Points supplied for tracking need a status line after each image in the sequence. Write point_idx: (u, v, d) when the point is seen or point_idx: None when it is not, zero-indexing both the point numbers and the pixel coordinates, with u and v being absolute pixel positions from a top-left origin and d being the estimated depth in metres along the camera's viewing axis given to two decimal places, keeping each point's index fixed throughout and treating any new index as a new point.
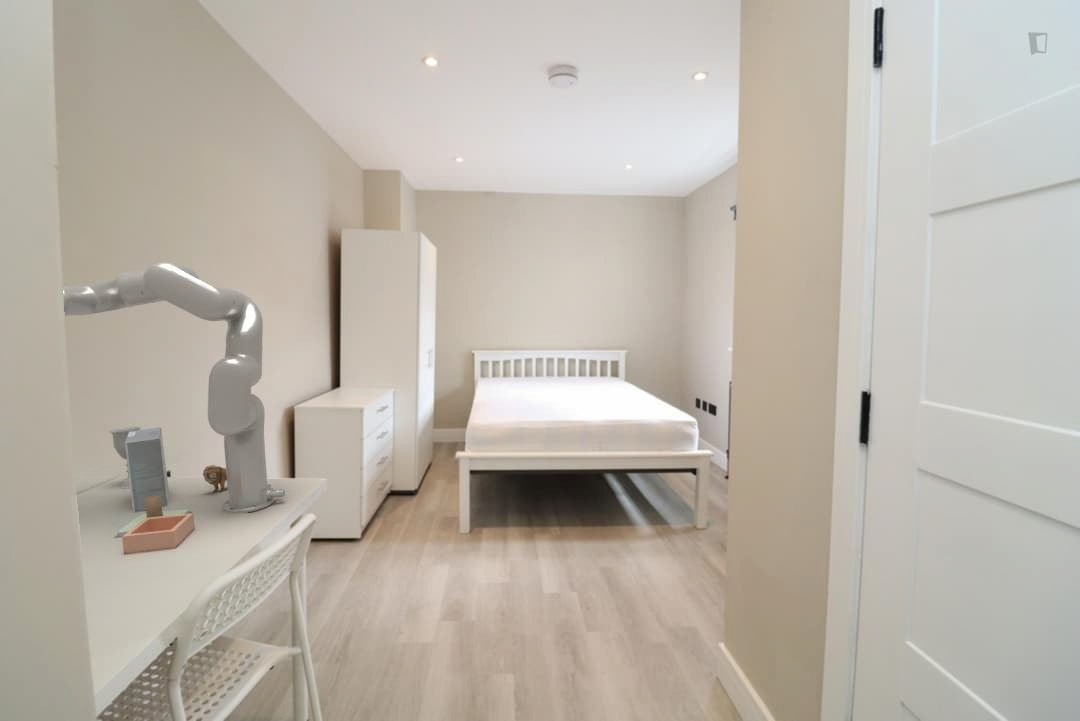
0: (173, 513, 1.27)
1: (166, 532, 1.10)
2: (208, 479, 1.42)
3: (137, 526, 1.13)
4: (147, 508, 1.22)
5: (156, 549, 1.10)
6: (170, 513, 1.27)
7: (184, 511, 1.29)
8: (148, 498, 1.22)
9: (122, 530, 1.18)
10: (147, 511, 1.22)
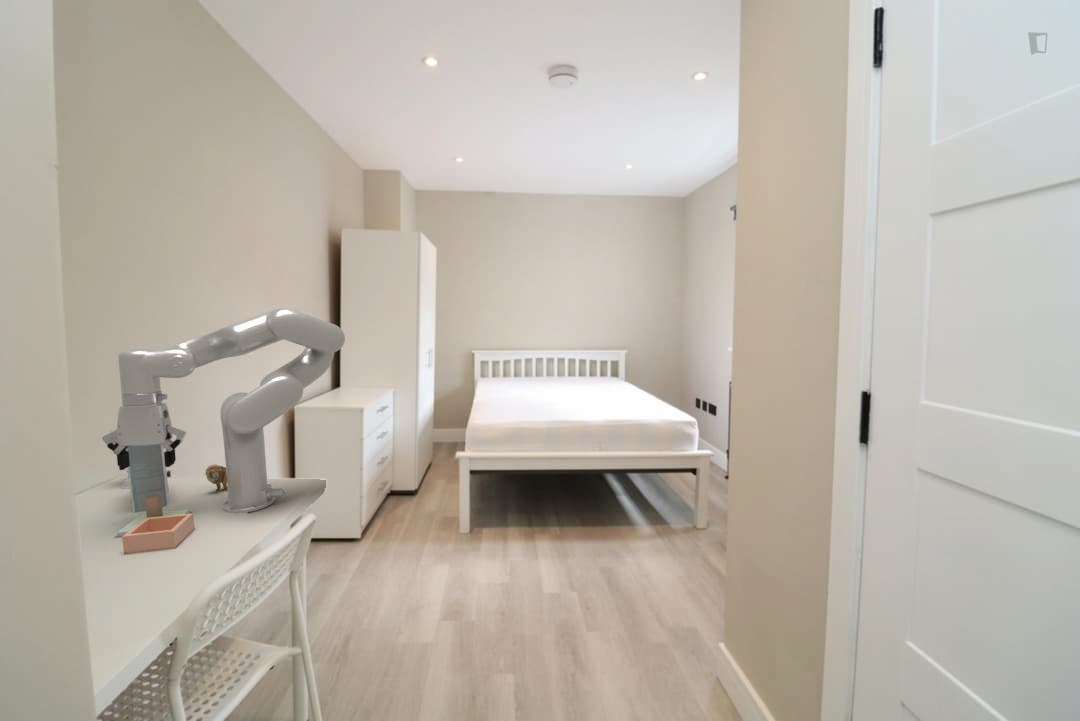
0: (173, 513, 1.27)
1: (166, 532, 1.10)
2: (211, 478, 1.42)
3: (137, 526, 1.13)
4: (147, 508, 1.22)
5: (156, 549, 1.10)
6: (170, 513, 1.27)
7: (184, 511, 1.29)
8: (148, 498, 1.22)
9: (122, 530, 1.18)
10: (147, 511, 1.22)
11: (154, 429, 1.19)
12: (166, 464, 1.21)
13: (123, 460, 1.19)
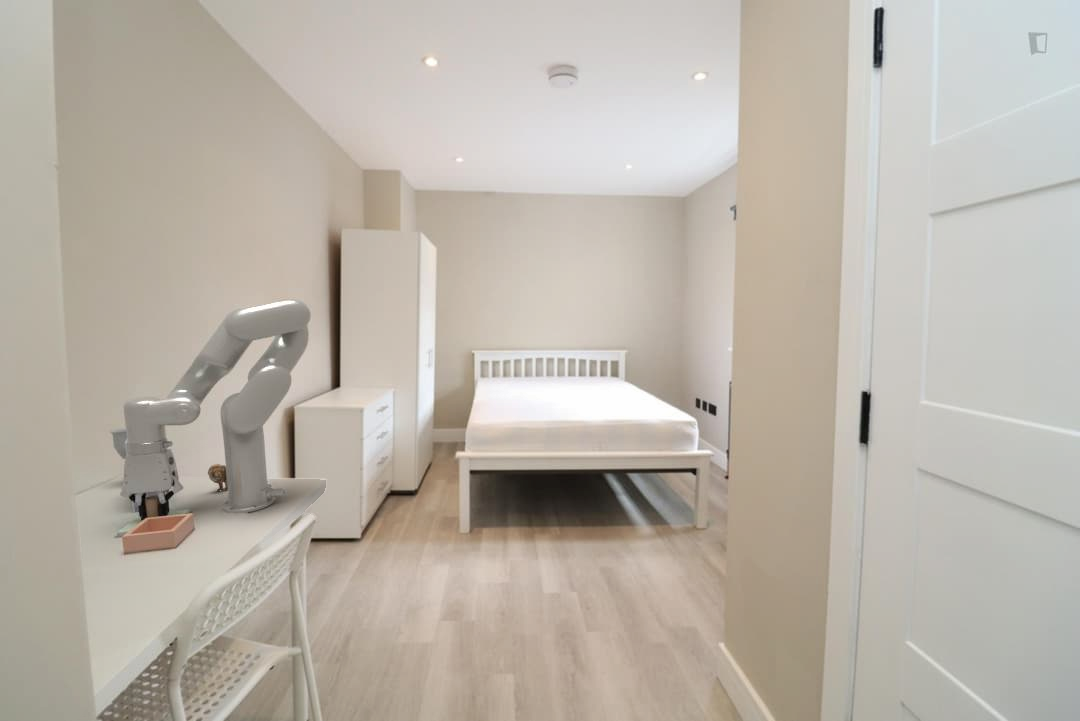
0: (173, 513, 1.27)
1: (166, 532, 1.10)
2: (213, 478, 1.43)
3: (137, 526, 1.13)
4: (147, 508, 1.22)
5: (156, 549, 1.10)
6: (170, 513, 1.27)
7: (184, 511, 1.29)
8: (148, 498, 1.22)
9: (122, 530, 1.18)
10: (147, 511, 1.22)
11: (160, 476, 1.21)
12: None
13: (144, 511, 1.22)
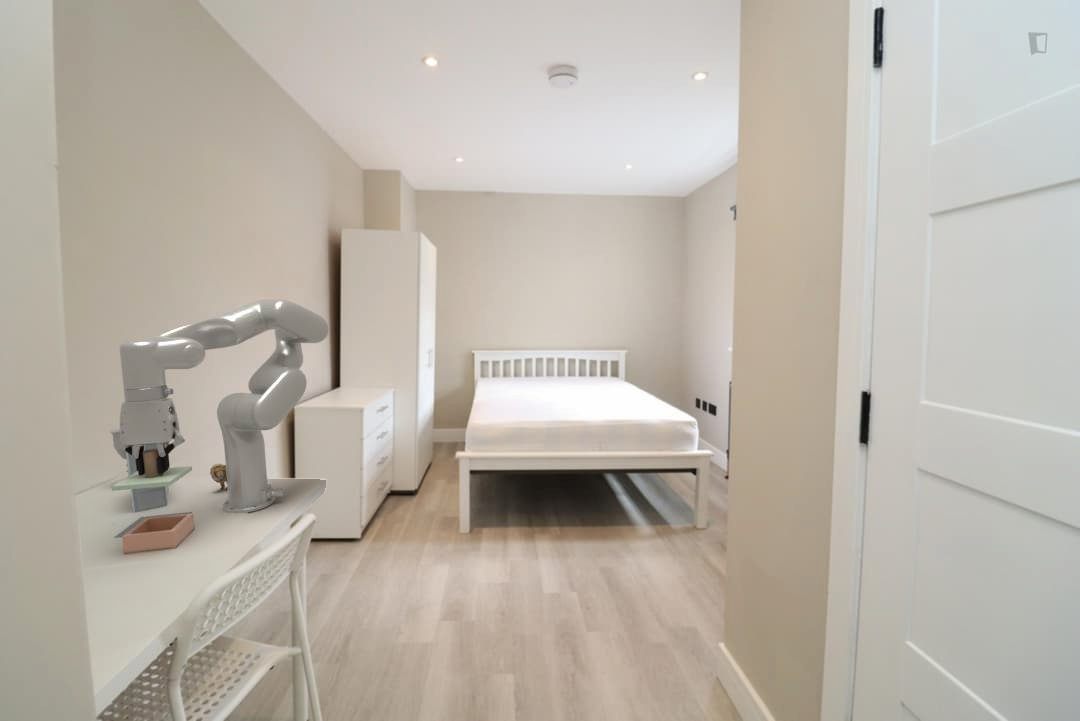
0: (173, 469, 1.17)
1: (166, 532, 1.10)
2: (215, 477, 1.43)
3: (137, 526, 1.13)
4: (145, 462, 1.11)
5: (156, 549, 1.10)
6: (170, 469, 1.17)
7: (185, 468, 1.18)
8: (146, 451, 1.11)
9: (117, 484, 1.07)
10: (145, 465, 1.11)
11: (160, 427, 1.10)
12: (159, 471, 1.12)
13: (142, 465, 1.11)
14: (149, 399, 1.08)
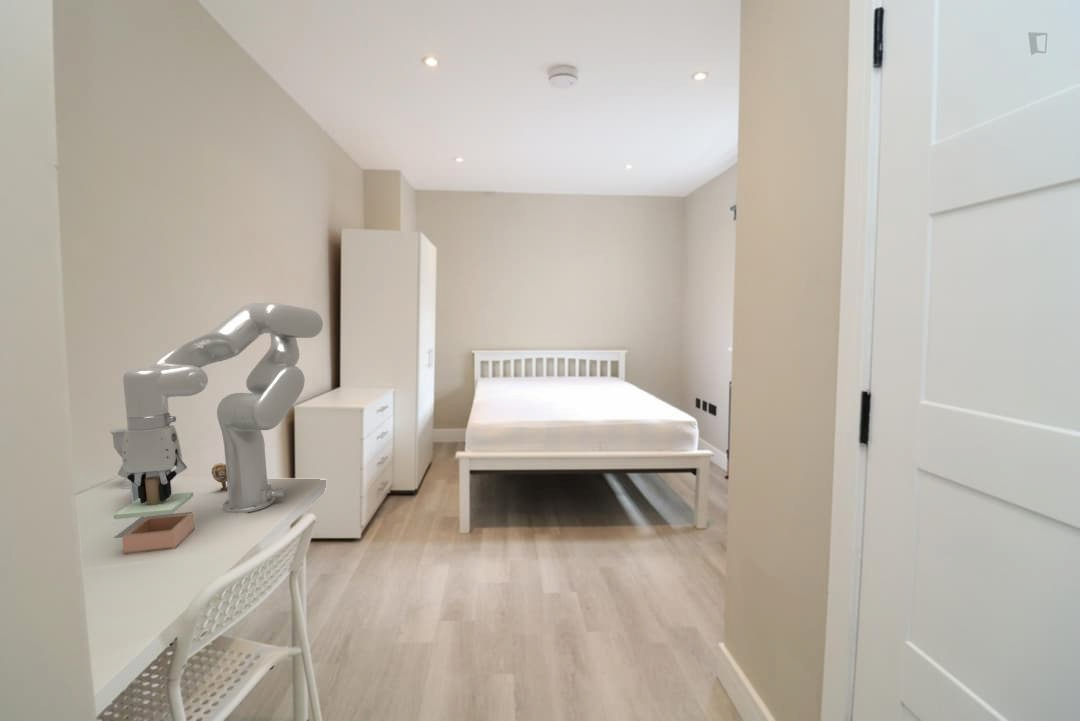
0: (175, 496, 1.17)
1: (166, 532, 1.10)
2: (217, 477, 1.43)
3: (137, 526, 1.13)
4: (147, 489, 1.11)
5: (156, 549, 1.10)
6: (172, 496, 1.17)
7: (187, 494, 1.18)
8: (148, 478, 1.12)
9: (119, 512, 1.07)
10: (147, 492, 1.11)
11: (162, 454, 1.11)
12: (161, 498, 1.12)
13: (144, 492, 1.11)
14: (152, 427, 1.09)
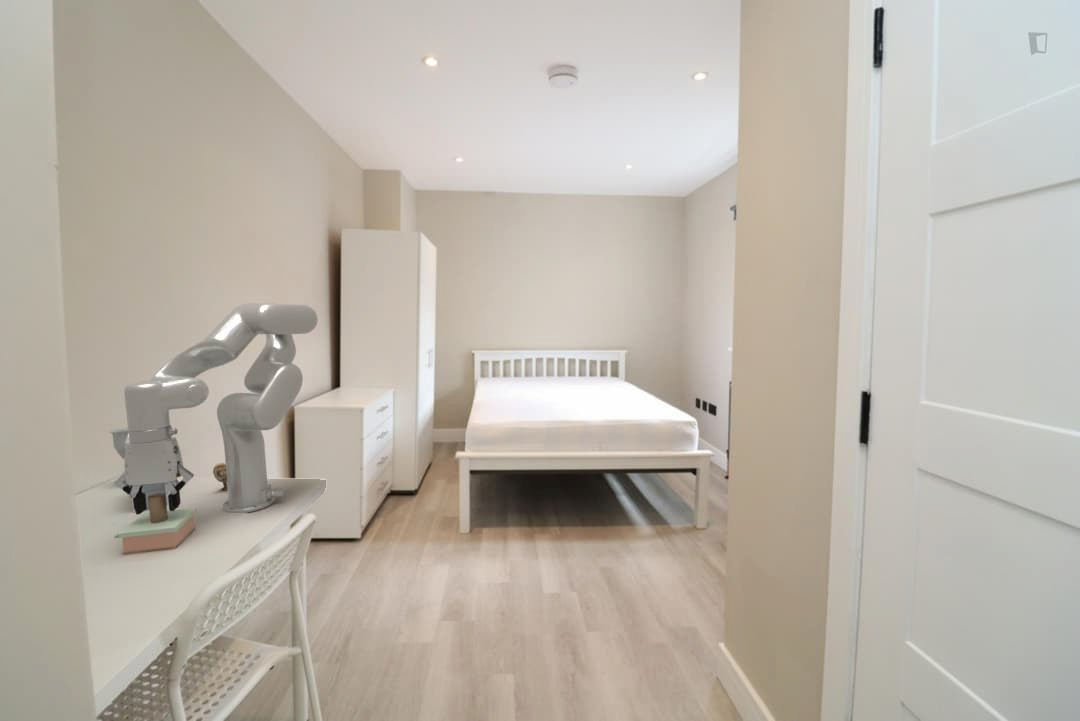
0: (178, 512, 1.18)
1: None
2: (218, 477, 1.44)
3: None
4: (150, 507, 1.12)
5: (156, 549, 1.10)
6: (175, 512, 1.18)
7: (190, 510, 1.19)
8: (151, 496, 1.13)
9: (123, 531, 1.08)
10: (150, 510, 1.12)
11: (164, 467, 1.11)
12: (170, 508, 1.13)
13: (140, 504, 1.12)
14: (154, 440, 1.09)
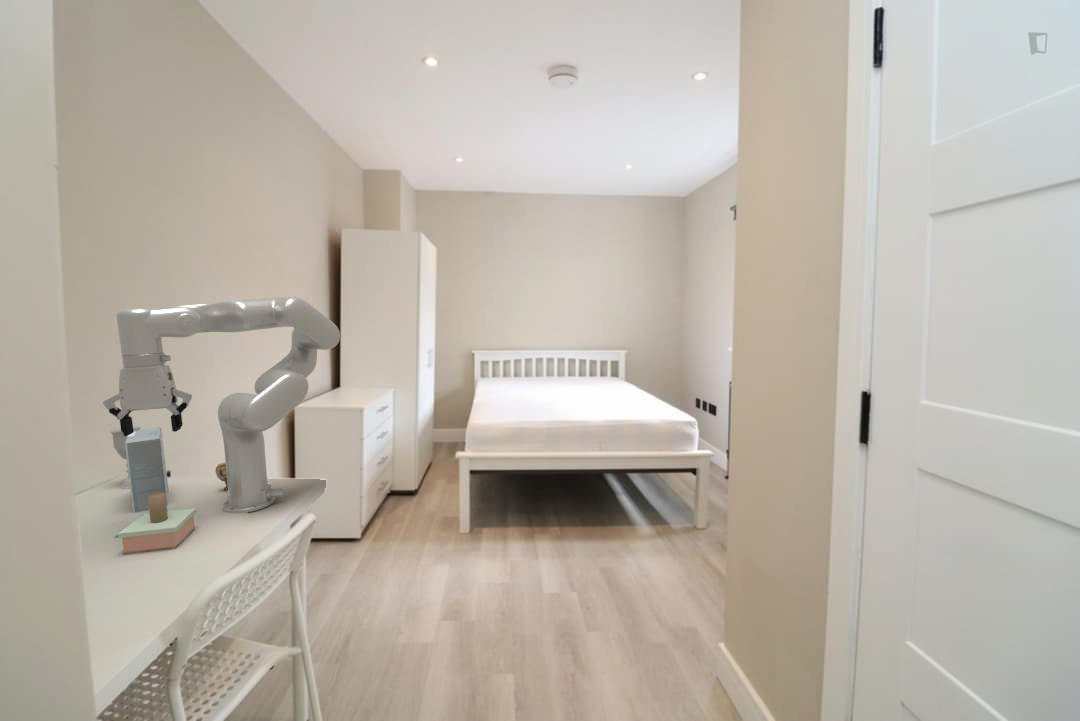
0: (178, 512, 1.18)
1: None
2: (221, 476, 1.44)
3: None
4: (150, 507, 1.12)
5: (156, 549, 1.10)
6: (175, 512, 1.18)
7: (190, 510, 1.19)
8: (151, 496, 1.13)
9: (123, 531, 1.08)
10: (150, 510, 1.12)
11: (159, 392, 1.14)
12: (173, 428, 1.16)
13: (127, 425, 1.13)
14: (148, 365, 1.12)
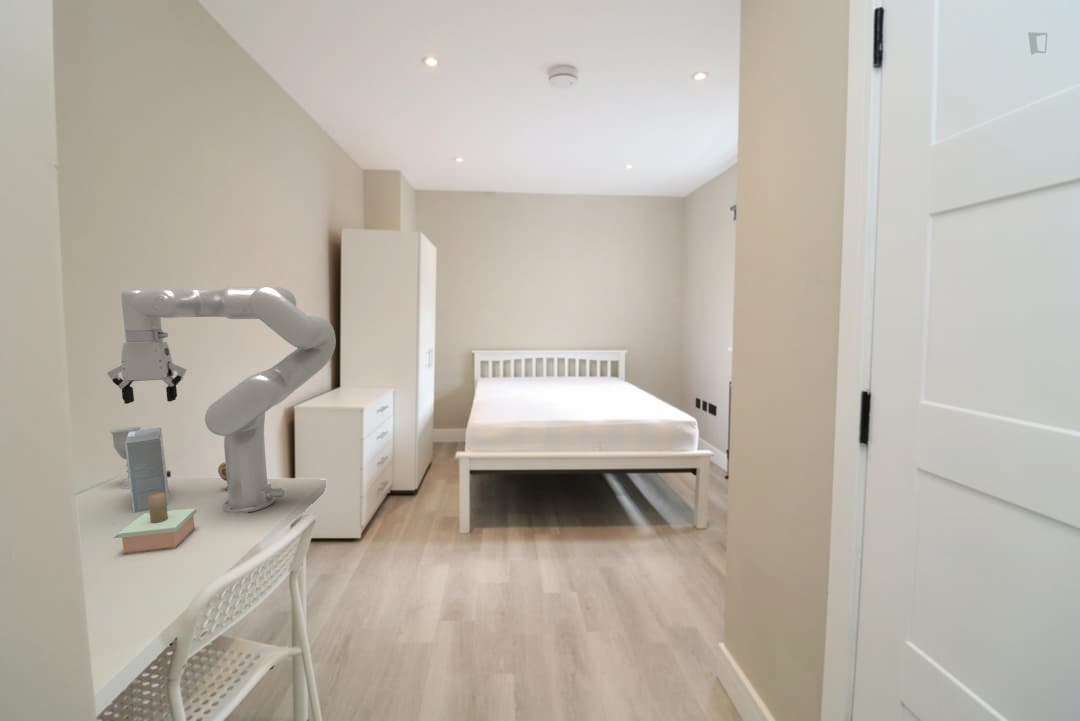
0: (178, 512, 1.18)
1: None
2: (223, 475, 1.45)
3: None
4: (150, 507, 1.12)
5: (156, 549, 1.10)
6: (175, 512, 1.18)
7: (190, 510, 1.19)
8: (151, 496, 1.13)
9: (123, 531, 1.08)
10: (150, 510, 1.12)
11: (156, 365, 1.27)
12: (168, 398, 1.29)
13: (128, 394, 1.27)
14: (147, 340, 1.25)
